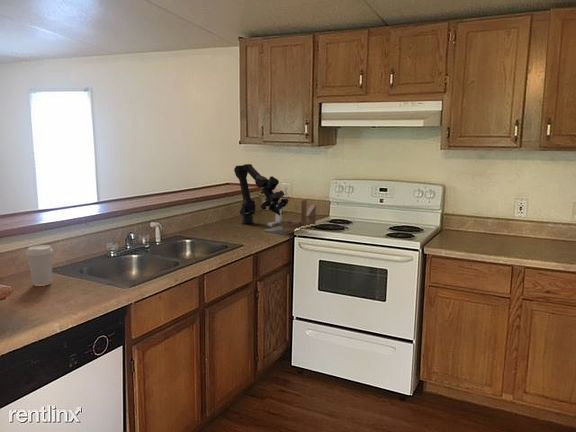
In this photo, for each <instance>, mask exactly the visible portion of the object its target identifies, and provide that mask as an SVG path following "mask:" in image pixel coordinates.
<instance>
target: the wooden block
mask: <svg viewBox="0 0 576 432" xmlns="http://www.w3.org/2000/svg"><path fill="white" fill-rule="evenodd" d="M307 200H308V199H301V200H300V202H301V203H300V222H301V226H306V225H310V224H315V225H316V221H317V220H316V218H317V217H316V216H317V213H316V210H317V209H316V208H317V207H316V206H317V205H316V204H311V205H310V207H309V208H307V207H308V201H307Z"/></svg>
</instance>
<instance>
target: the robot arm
mask: <svg viewBox="0 0 576 432" xmlns="http://www.w3.org/2000/svg"><path fill="white" fill-rule="evenodd" d="M233 172H234V174H235V177H236V178H237V179H238V180H239V186H240V190H241V195H242V203H241V209H240V210H239V215H241V216H242V217H241V219H242V222H240V224H243V225H252V224H255V222H254V217H253V215H255V212H256V207H257V205H256V202H255V200H253V199H252V198H251V194H250V189H249V185H248V179H247V177H248V174H249V175H250V177H251V178H252V179H253V180H254V181H255V185H256V187H257V188H259V189H261V191H260V195H264V196H265V200H264V201H263V202H262V203H261V205H260V208H261V210H262V211H264V210H267V207H269V208H268V211H271V212H273V213H276V214H278V215H280V212H279V210H278V208H279V209H282V216H283V215H284V212H283V211H284V210H283V208H285V207H286V206H287V205H288V203H290V201H289V199H288V198H283V197H284V196H285V192H284V190H280V191H276V192H274V190H275V189H276V188H277V187H278V185H279V183H280V182H279V180H278V179H277V178H276V177H274V176H269V179H268V178H267V177H266V176H263V175H261V174H260V173H259V172H258V170H257V169H255V167H253V164H251V163H247V164H246V163H245V164H242V165H235V167H234V170H233ZM281 198H282V199H281Z"/></svg>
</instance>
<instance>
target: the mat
mask: <svg viewBox="0 0 576 432" xmlns="http://www.w3.org/2000/svg"><path fill="white" fill-rule="evenodd" d="M263 232H265V233H271V234H273V233H274V234H279V235H287V234H291V233H295V232H294V231H290V232H287V233H283V226H273V227H270V228H267V229H263Z"/></svg>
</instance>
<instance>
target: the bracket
mask: <svg viewBox="0 0 576 432" xmlns="http://www.w3.org/2000/svg"><path fill="white" fill-rule="evenodd" d="M278 210H279V212H280V215H278V214H276V213H275V212H274V213H275V216H274V219H275V221H272V222H267V226H268V227H270V228H273V227H277V226H279V225H282V220H283V215H282V210H283V208H282V209H279V208H278Z"/></svg>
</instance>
